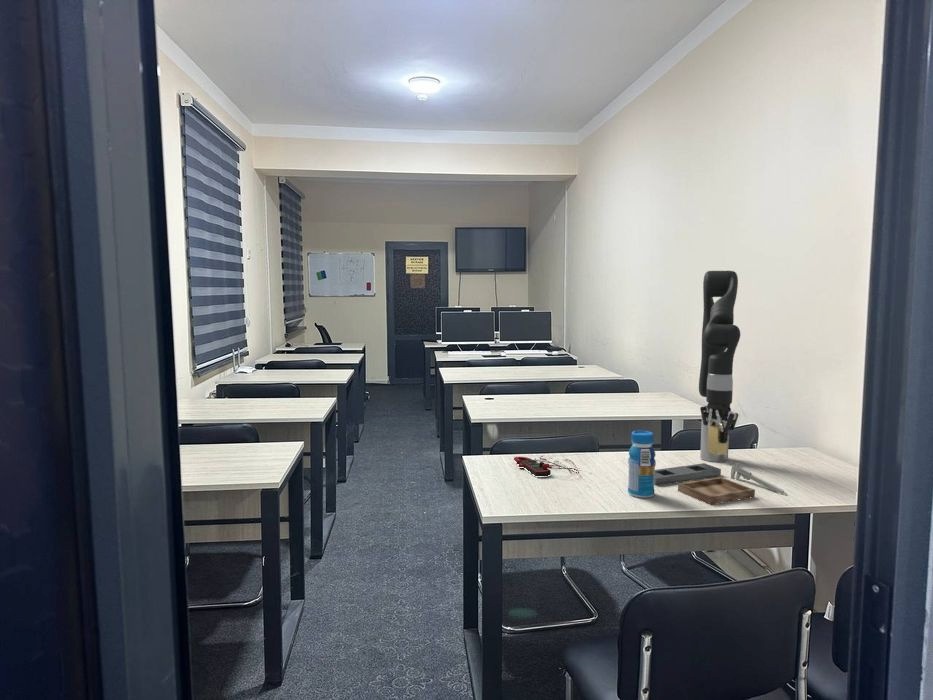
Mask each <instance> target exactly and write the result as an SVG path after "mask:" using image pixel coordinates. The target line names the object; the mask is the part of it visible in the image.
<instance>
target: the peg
mask: <svg viewBox="0 0 933 700" xmlns="http://www.w3.org/2000/svg"><path fill="white" fill-rule="evenodd" d="M724 428H725V426H724ZM720 432H721V430H720V425H712V426H708V452H709V453H712V454H715V455H722V454H727V442H726V443H723V444H722V443H720Z"/></svg>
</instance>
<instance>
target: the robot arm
mask: <svg viewBox="0 0 933 700" xmlns="http://www.w3.org/2000/svg"><path fill="white" fill-rule="evenodd" d="M703 276H704V277H703V283H702V284H703V288H702V289H703V291H702V292H703V295H702V296H703V299H702V300H703V315H702V316H703V317H702V319H703V320H702V329H701V359H700V360H701V361H700V362H701V363H700V370H699V371H700V372H699V379H698V392H699V395H700V396H701V397H703V398H705V399H706V403H707V405H704V406H700V410H699V411H700V414H701V415H700V416H701V424H700V425H701V428H700V431H701V433H700V459H702V460H704V461H708V462H715V463H718V462H719V463H720V462H726V461H727V460H729V447H730V446H729V444H730V443H729V442H730V435H729V432H730V431H734V430H735V427H736V424H737V421H738V417H739V413H737V412H734V411H732V409H731V404H732V403H733V391H734V390H733V389H734V380H733V379H734V377H733V366H734V365H733V364H734V357H735V353H736V351H737V347H738V344H739V341H740V339H741V330H740V328H739V327H738V326H737V325H735V324H734V318H735V316H734V310H735V304H736V300H737V294H738V288H739V278H738V277H739V276H738V274H737V272H736V271H735V270H708V271H706V272H705V273H704V275H703ZM714 298H719V299H717V300H716V301H715V302H714ZM712 425H720V430H721V432H720V443H722V444H723V443H726V442H727V454H722V455H715V454H712V453H709V452H708V426H712ZM724 426H725V428H724Z"/></svg>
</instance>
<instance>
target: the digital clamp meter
mask: <svg viewBox="0 0 933 700" xmlns="http://www.w3.org/2000/svg"><path fill="white" fill-rule="evenodd" d="M543 456H544V455H540V456H539V458H540V459H536V458H534V459H532V458H530V457H526V456H514V457H513V461H514V460H515V461H516V462H517V464H519V467H524V468H526V469H527V470H528V471H530V472H531V473H532V474H534V475H535V476H548V475H550V474H551V473H552V471H551V469H553V470H554V469H555V470H562V469H564V470H568V472H570V474H572V473H575V472H574V471H573V470H571V469H574V470H576V471H578V473H577V472H576V473H575V474H580V472H579V471H580V470H578V469H576V468H572V467H571V468H568V467H566V466H564V465H563V466H562V465H560V464H557V463H559V462H560V461H558V460H556V462H557V463H555V462H552V461H550V460H546V458H544V457H543ZM565 459H566V458H565ZM565 461H569V462H571V463H572V465H575V463H574V462H573V461H572V460H570V459H566V460H565ZM517 464H516V465H517ZM519 467H518V468H519ZM560 467H561V468H560ZM532 474H531V475H532ZM535 476H534V477H535Z"/></svg>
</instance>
